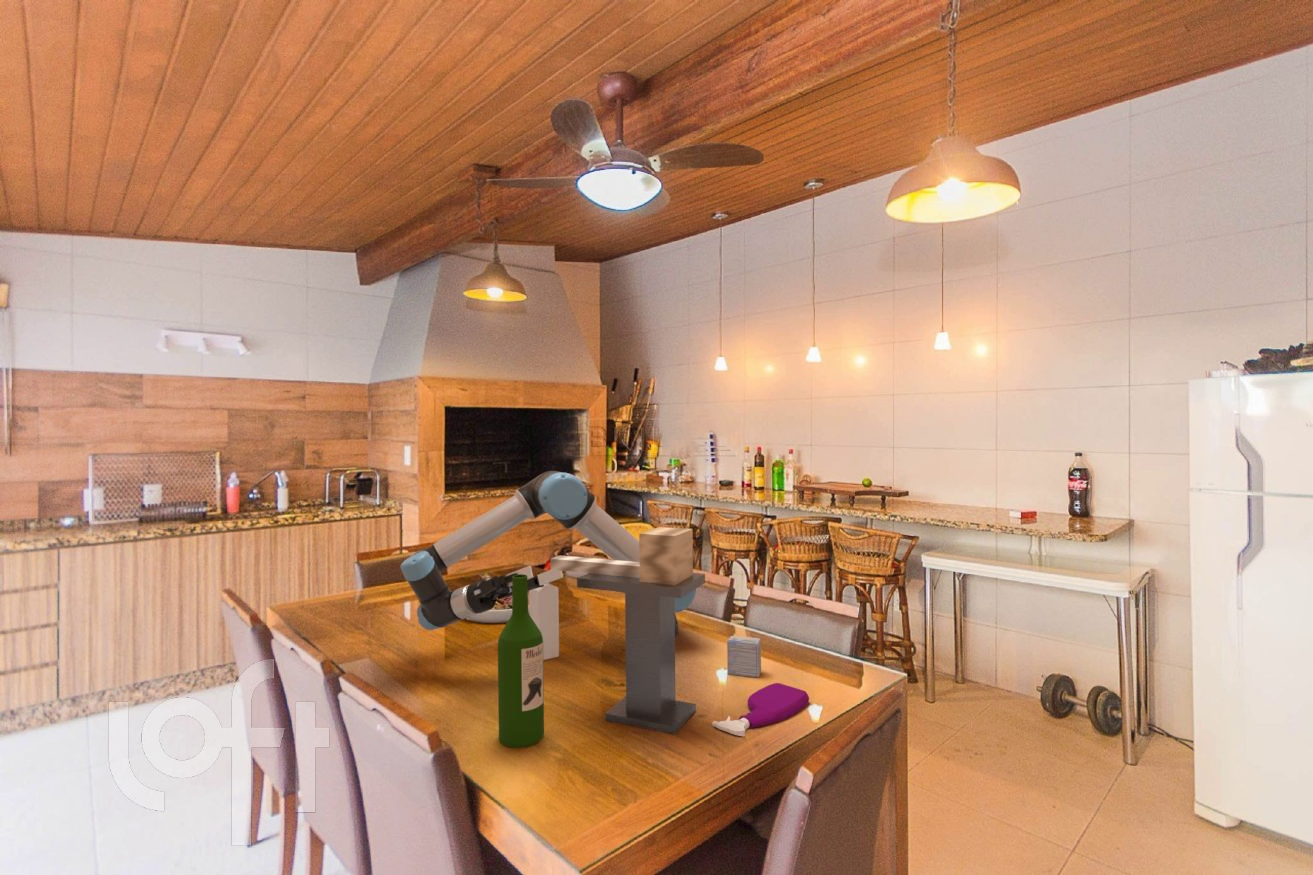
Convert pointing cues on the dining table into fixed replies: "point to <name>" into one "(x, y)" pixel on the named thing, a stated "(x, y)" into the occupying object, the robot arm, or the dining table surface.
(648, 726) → the stand
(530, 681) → the wine bottle
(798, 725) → the dining table surface
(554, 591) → the milk
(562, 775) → the dining table surface
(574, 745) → the dining table surface
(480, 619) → the bowl
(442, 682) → the dining table surface
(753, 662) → the medicine box
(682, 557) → the wooden l-shaped block
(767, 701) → the spray bottle
